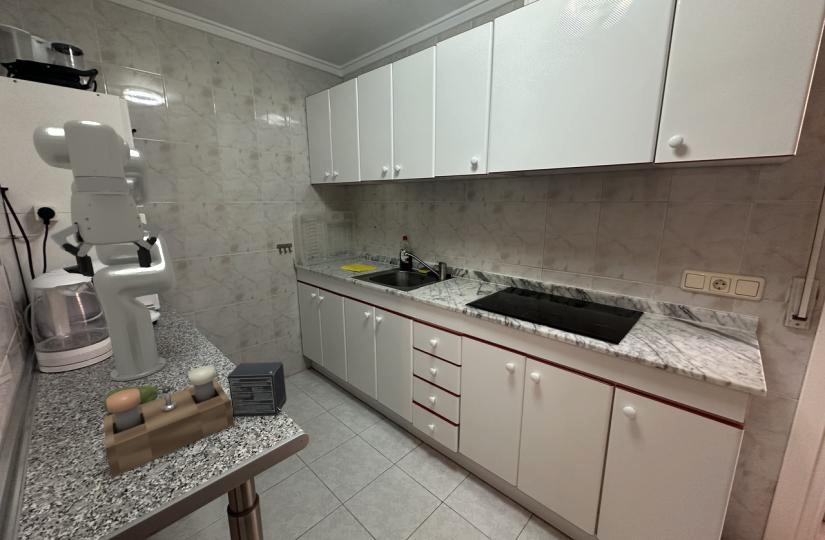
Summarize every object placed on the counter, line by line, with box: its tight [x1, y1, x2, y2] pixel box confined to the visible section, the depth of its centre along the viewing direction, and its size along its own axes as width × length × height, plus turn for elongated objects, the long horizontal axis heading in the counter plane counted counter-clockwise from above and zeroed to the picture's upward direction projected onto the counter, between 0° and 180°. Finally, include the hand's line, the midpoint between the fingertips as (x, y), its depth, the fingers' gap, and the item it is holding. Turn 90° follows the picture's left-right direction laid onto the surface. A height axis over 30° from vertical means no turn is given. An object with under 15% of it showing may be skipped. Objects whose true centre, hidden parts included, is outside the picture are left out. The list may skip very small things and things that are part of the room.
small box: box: [226, 361, 287, 418], centre depth 76 cm, size 11×6×10 cm, turn 92°
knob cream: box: [188, 365, 217, 404], centre depth 71 cm, size 5×5×8 cm
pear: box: [102, 385, 158, 414], centre depth 78 cm, size 6×5×10 cm
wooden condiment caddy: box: [103, 379, 235, 478], centre depth 68 cm, size 12×20×6 cm, turn 134°
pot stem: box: [161, 386, 177, 412], centre depth 67 cm, size 2×2×5 cm
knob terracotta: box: [106, 389, 142, 433], centre depth 63 cm, size 5×5×8 cm
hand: (118, 271), depth 68 cm, fingers open, 9 cm apart
